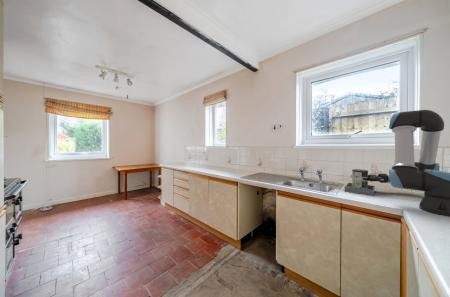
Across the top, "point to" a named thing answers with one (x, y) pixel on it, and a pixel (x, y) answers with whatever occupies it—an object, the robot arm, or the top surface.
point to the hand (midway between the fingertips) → (353, 177)
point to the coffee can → (359, 183)
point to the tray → (360, 189)
